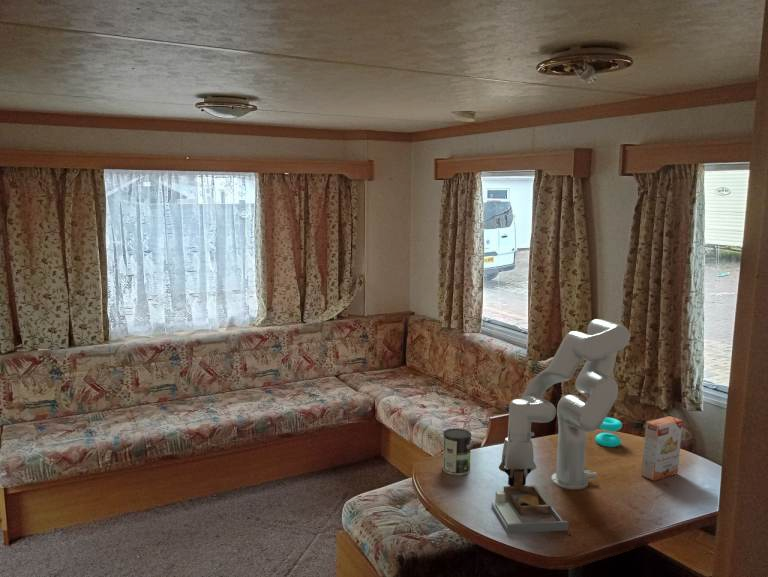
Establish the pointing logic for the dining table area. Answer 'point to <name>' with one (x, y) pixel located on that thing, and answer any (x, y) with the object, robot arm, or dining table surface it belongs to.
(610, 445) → the donuts
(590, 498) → the dining table surface
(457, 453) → the coffee can
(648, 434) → the cracker box
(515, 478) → the frame
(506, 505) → the sage strip
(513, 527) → the lane guide
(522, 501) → the pastry
